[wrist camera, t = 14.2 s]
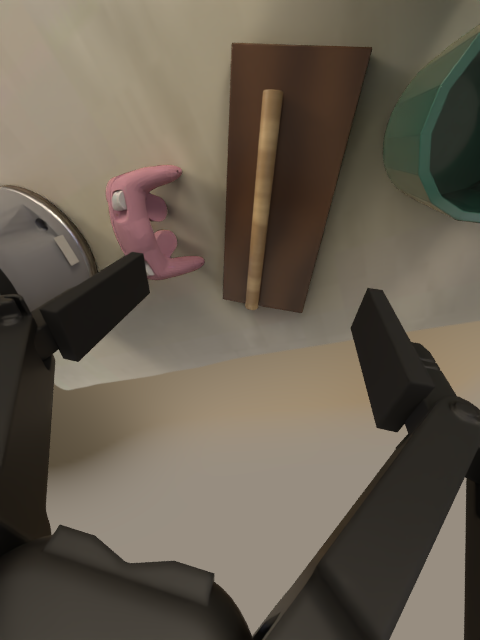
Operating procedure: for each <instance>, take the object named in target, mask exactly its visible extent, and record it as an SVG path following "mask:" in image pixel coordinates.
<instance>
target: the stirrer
mask: <svg viewBox="0 0 480 640" xmlns="http://www.w3.org/2000/svg"><path fill="white" fill-rule="evenodd" d="M282 100H283V92H282V91H280V90H273V89H268V90H264V91H263V96H262V108H261V121H260V133H259V145H258V157H257V169H256V181H255V194H254V206H253V218H252V230H251V242H250V254H249V267H248V279H247V291H246V303H245V307H246V308H247V309H249V310H256V309H257V308H258V303H259V294H260V286H261V277H262V269H263V261H264V252H265V244H266V235H267V227H268V218H269V210H270V201H271V193H272V185H273V176H274V168H275V159H276V151H277V142H278V134H279V125H280V117H281V109H282Z"/></svg>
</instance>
